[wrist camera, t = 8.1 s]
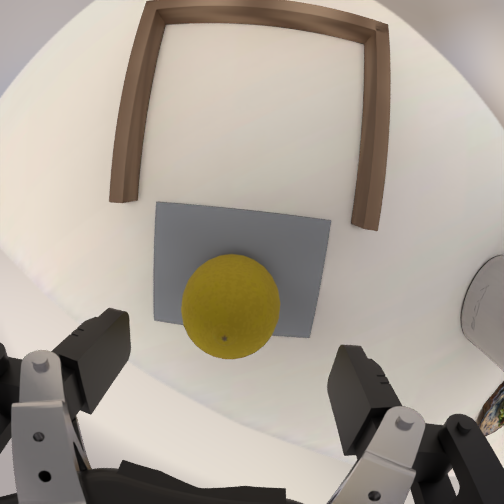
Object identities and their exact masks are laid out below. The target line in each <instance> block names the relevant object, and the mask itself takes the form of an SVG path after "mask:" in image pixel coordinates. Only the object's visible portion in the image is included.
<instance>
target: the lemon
mask: <svg viewBox="0 0 504 504" xmlns="http://www.w3.org/2000/svg"><path fill="white" fill-rule="evenodd" d="M279 312H280V298H279V292H278V288H277V286H276V284H275V281H274V279H273V277H272V276H271V274H270V273H269V272H268V271H267V270H266V268H265V267H264V266H262V265H261V264H260V263H258V262H257V261H255V260H254V259H251V258H249V257H246V256H243V255H236V254H228V255H220V256H218V257H215V258H212V259H210V260H208V261H207V262H205V263H204V264H202V265H201V266H200V267H198V268H197V270H196V271H195V272H194V273H193V275H192V276H191V277H190V278H189V280H188V282H187V285H186V287H185V290H184V292H183V297H182V306H181V313H182V319H183V325H184V327H185V329H186V331H187V334H188V336H189V337H190V339H191V340H192V341H193V342H194V344H195V345H196V346H197V347H199V348H200V349H201V350H203V351H204V352H205V353H208V354H210V355H212V356H214V357H218V358H222V359H237V358H243V357H246V356H248V355H250V354H253V353H255V352H256V351H257V350H259V349H260V348H261V347H263V346H264V345H265V344H266V342H267V341H268V340H269V338H270V337H271V336H272V334H273V332H274V330H275V327H276V325H277V322H278V319H279Z"/></svg>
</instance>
